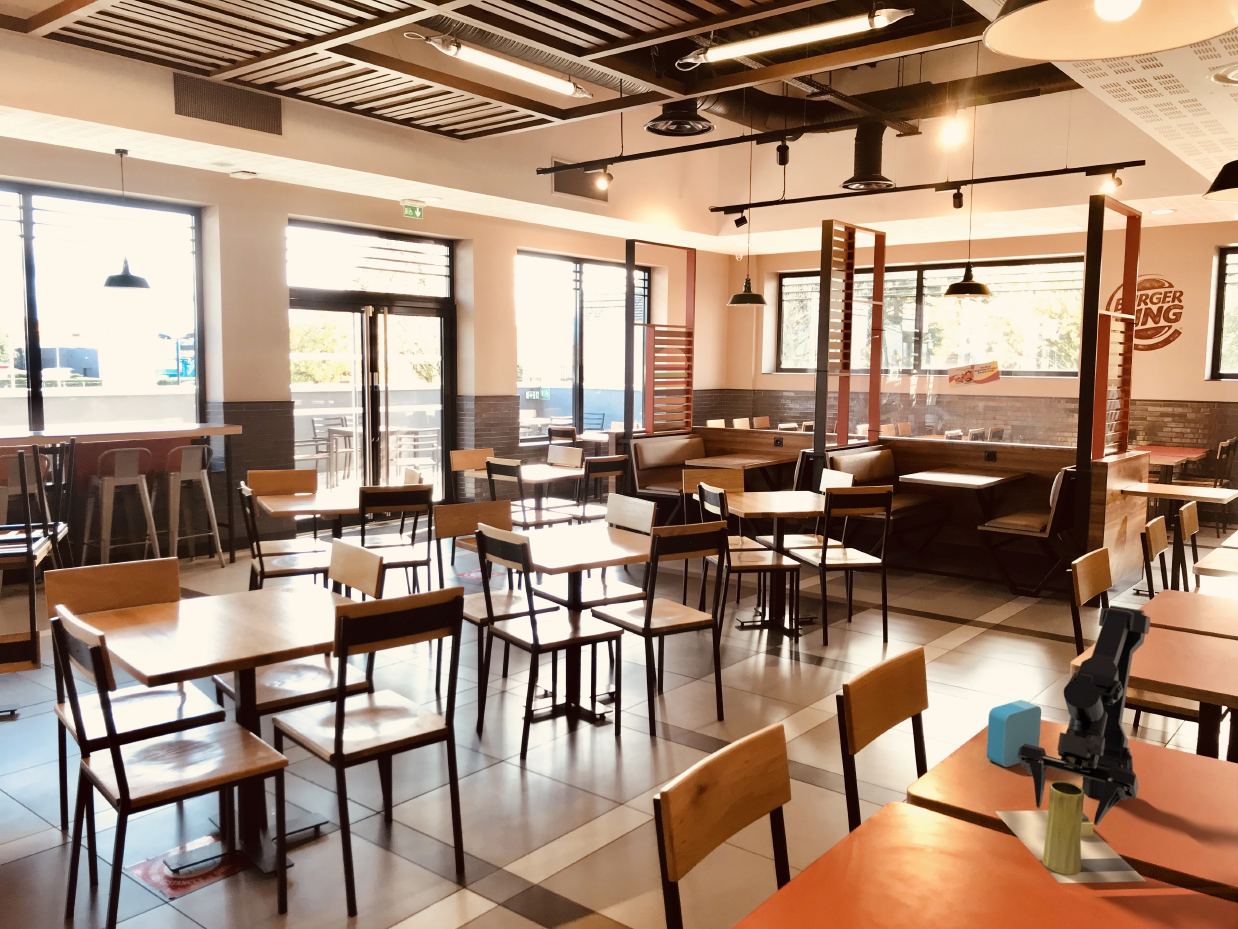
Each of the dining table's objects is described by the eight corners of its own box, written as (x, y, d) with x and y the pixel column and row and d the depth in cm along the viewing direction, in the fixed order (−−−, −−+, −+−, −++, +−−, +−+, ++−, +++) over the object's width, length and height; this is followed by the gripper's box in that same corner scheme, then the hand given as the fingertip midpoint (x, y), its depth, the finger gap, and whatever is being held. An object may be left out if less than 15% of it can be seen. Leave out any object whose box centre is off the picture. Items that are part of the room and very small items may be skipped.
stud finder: (1052, 817, 177) (1053, 802, 177) (1072, 816, 178) (1073, 801, 177) (1071, 836, 170) (1072, 820, 170) (1092, 835, 171) (1093, 820, 170)
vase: (1074, 880, 157) (1080, 800, 155) (1037, 866, 161) (1042, 788, 159) (1085, 865, 161) (1091, 787, 159) (1048, 852, 165) (1053, 776, 163)
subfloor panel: (1070, 813, 180) (1070, 809, 180) (1145, 885, 156) (1146, 881, 156) (994, 815, 179) (994, 811, 179) (1059, 887, 156) (1059, 883, 156)
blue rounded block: (1020, 749, 209) (1024, 698, 207) (1038, 757, 205) (1042, 705, 203) (985, 761, 203) (988, 708, 201) (1003, 769, 199) (1006, 715, 197)
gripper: (1023, 700, 168) (1002, 781, 161) (1140, 727, 156) (1122, 815, 149) (1032, 727, 175) (1012, 806, 168) (1144, 755, 164) (1128, 840, 157)
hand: (1066, 815), depth 160 cm, fingers open, 9 cm apart
